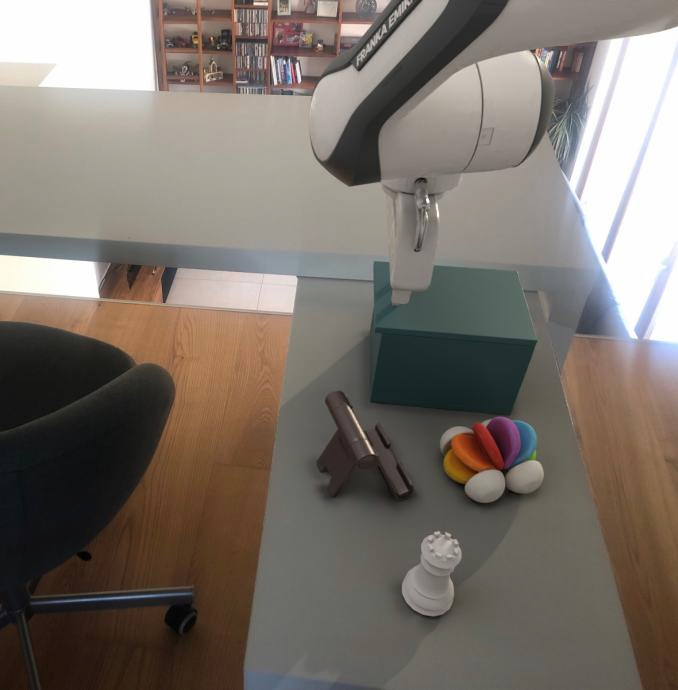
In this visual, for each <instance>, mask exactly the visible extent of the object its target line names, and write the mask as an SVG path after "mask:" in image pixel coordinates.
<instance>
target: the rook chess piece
mask: <svg viewBox="0 0 678 690" xmlns="http://www.w3.org/2000/svg"><path fill="white" fill-rule="evenodd" d="M451 537H452V534H451V533H449V532H447V531H445V532H444V534H441V531H440V530H438V531H434V532H433V534H429V535H428V536H426V537H424V538H423V540H422V543H421V544H420V552H421V554H420V563H419V564H417V565H415V566H413V567H412V568H411V569H409V570H408V571H407V573H406V575H405V577H404V579H403V581H402V583H401V594H402V596H403V599H404V600H405V602H406V604H407V605H408V606H409V607H410V608H411V609H412V610H413V611H415V612H417V613H419V614H420V615H424V616H430V617H437V616H441V615H444V614H445V613H446V612H447V611H449V610H450V609H451V607H452V605H453V603H454V597H455V589H454V586H455V585H454V583H453V581H452V579H451V574H452V573H453V572H454V570H455V568H456V566H457V565H459V564H460V562H461V560H462V557H463V556H462V550H461V547H460V546H459V545H460V543H459V541H458V540H457V538H454V539H453V538H451Z"/></svg>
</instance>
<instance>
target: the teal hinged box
mask: <svg viewBox="0 0 678 690" xmlns="http://www.w3.org/2000/svg"><path fill="white" fill-rule="evenodd" d="M535 349H536V346H529V345H517V344H505V343H493V342H481V341H469V340H457V339H445V338H433V337H421V336H409V335H397V334H385V333H375V332H374V307H373V309H372V315H371V322H370V329H369V401H370V403H377V404H388V405H399V406H410V407H419V408H420V407H421V408H431V409H439V410H440V409H441V410H450V411H451V410H452V411H461V412H469V413H470V412H471V413H482V414H492V415H502V416H511V415H512V412H513V409H514V407H515V404H516V401H517V399H518V396H519V393H520V390H521V388H522V384H523V382H524V380H525V376H526V373H527V371H528V368H529V366H530V363H531V361H532V357H533V356H534V352H535Z"/></svg>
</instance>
